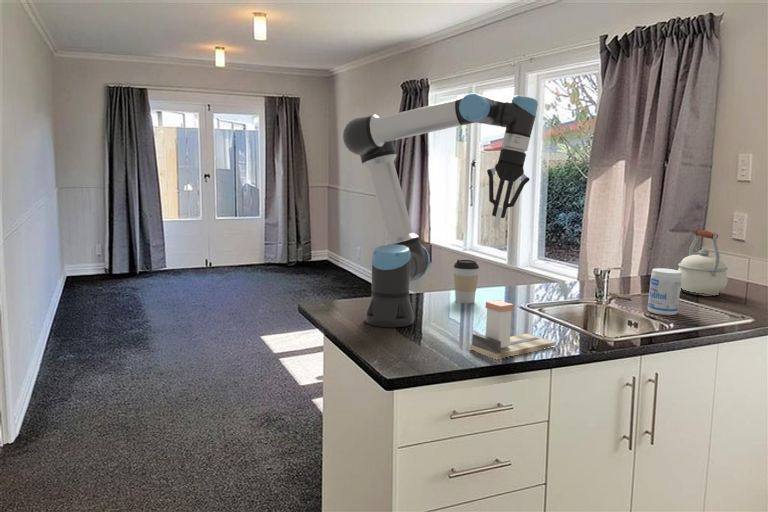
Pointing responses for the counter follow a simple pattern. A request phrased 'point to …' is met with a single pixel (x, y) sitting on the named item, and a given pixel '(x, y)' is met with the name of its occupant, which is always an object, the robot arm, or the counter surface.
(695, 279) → the kettle
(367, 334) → the counter surface
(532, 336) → the board
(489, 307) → the block
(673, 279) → the supplement tub
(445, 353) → the counter surface
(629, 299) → the tongs
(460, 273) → the coffee cup
